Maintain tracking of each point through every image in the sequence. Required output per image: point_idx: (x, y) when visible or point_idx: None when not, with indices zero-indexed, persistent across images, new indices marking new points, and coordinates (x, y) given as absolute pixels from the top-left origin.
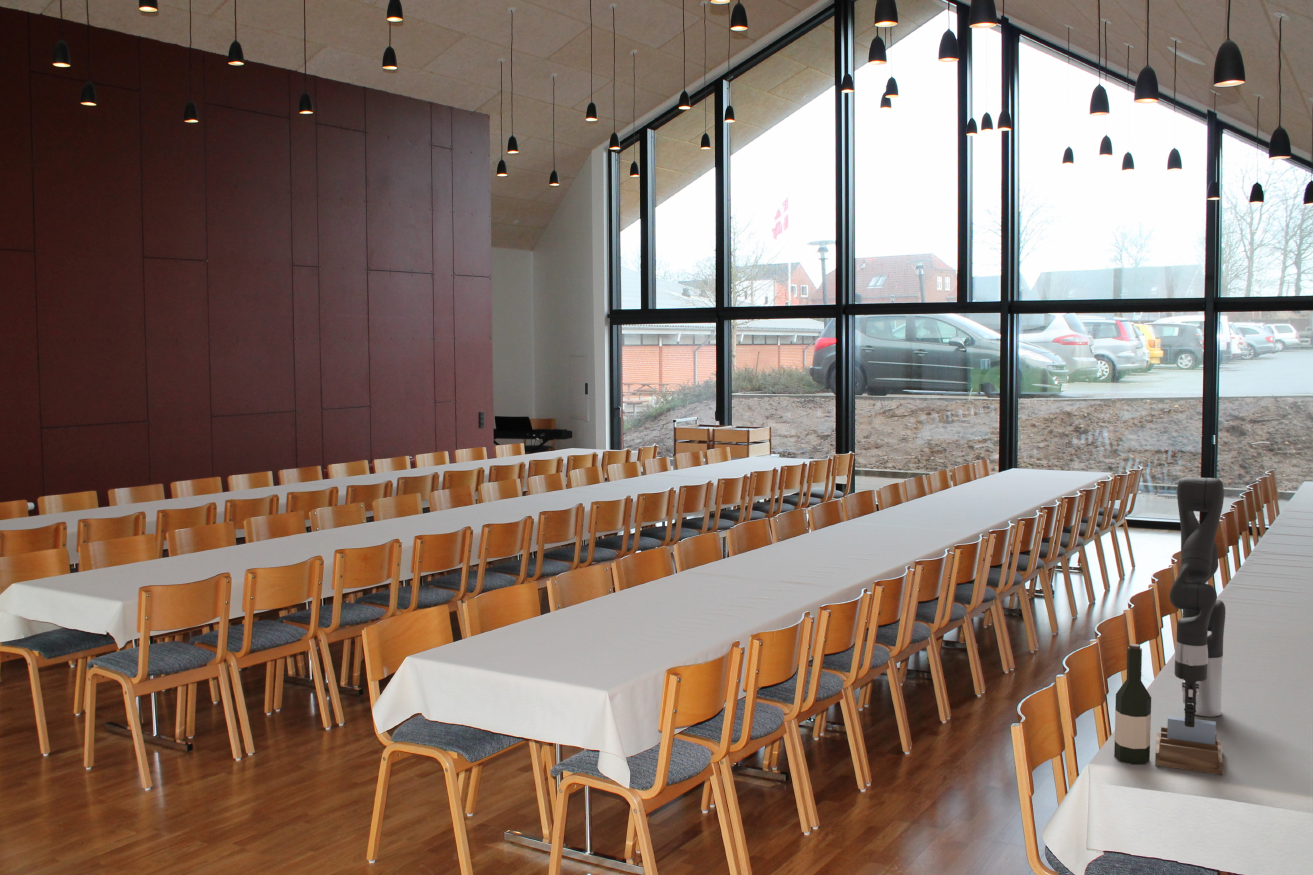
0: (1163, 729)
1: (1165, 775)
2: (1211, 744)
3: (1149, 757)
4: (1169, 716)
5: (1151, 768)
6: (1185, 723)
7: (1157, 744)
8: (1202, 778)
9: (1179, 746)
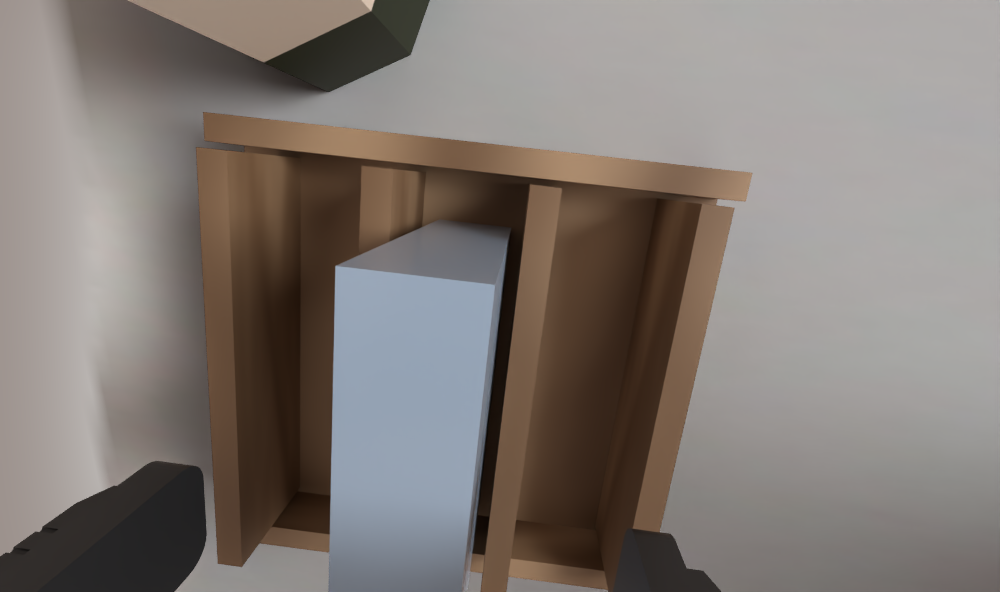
0: (688, 224)
1: (106, 175)
2: None
3: (314, 85)
4: (459, 304)
5: (186, 93)
6: (136, 482)
7: (413, 147)
8: (167, 379)
9: (217, 311)
